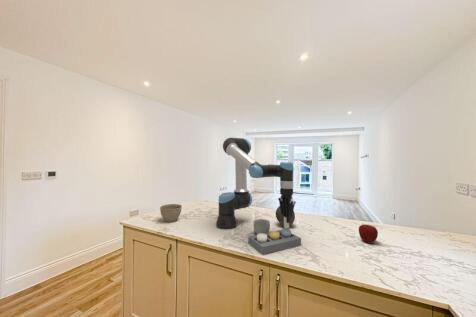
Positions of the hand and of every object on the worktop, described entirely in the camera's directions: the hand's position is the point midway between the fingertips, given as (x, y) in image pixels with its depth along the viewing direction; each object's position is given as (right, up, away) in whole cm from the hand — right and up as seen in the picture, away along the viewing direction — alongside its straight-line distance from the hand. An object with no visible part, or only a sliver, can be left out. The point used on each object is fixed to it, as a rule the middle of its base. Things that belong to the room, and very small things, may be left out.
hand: (286, 227), depth 115 cm
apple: (+49, -9, +1) cm, 50 cm away
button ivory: (-15, -6, -7) cm, 18 cm away
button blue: (0, -6, 0) cm, 6 cm away
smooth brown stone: (+6, -9, +28) cm, 30 cm away
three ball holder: (-8, -8, -3) cm, 12 cm away
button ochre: (-8, -6, -3) cm, 10 cm away
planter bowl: (-81, -8, +37) cm, 90 cm away
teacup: (-13, -9, +14) cm, 21 cm away
